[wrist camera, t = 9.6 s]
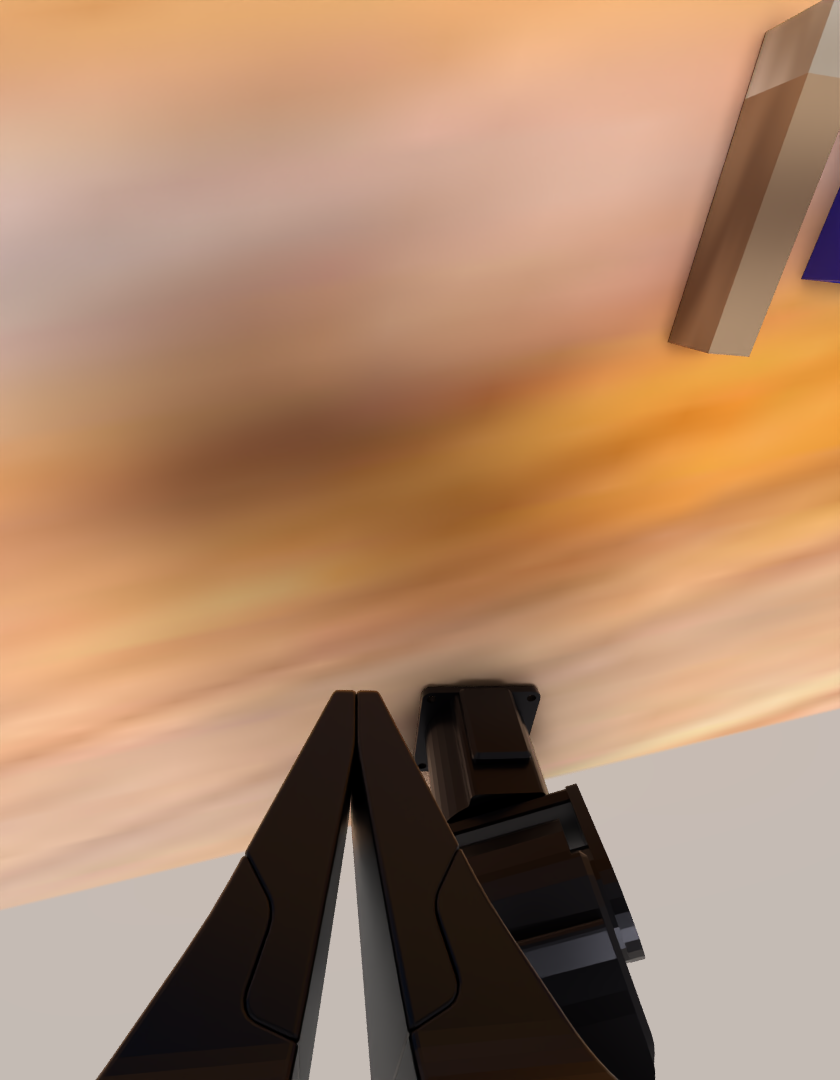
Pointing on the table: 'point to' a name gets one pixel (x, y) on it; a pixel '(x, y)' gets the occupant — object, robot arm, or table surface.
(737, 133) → the slot rails
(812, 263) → the cable clip
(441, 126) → the table surface
